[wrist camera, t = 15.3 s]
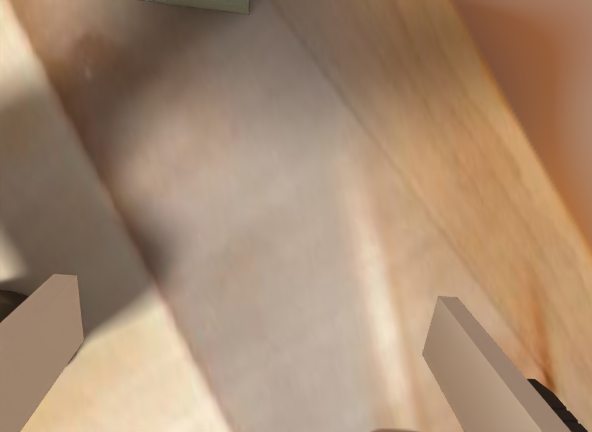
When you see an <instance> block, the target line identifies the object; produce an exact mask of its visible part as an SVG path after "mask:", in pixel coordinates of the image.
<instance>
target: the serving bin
mask: <svg viewBox="0 0 592 432" xmlns="http://www.w3.org/2000/svg"><path fill="white" fill-rule="evenodd" d="M142 1H149V2H157V3H165V4H173V5H180V6H188V7H196V8H204V9H211V10H219V11H227V12H235V13H242V14H249V4H250V0H142Z"/></svg>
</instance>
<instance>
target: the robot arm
mask: <svg viewBox="0 0 592 432" xmlns="http://www.w3.org/2000/svg"><path fill="white" fill-rule="evenodd" d="M83 341H84V336H83V327H82V318H81V308H80V299H79V290H78V280H77V275H63V274H53V275H52V276H51V277H50V278H49V279H48V280H47V281H45V282H44V283H43V284H42V285H41V286H40V287H39V288H38V289H37V290H36V291H35V292H34V293H32V294H31V295H30V296H29V297H27V296H24V295H21V294H18V293H14V292H9V291H0V432H20V431H21V430H22V428H23V427H24V426H25V424H26V423H27V421H28V420H29V418H30V417H31V416H32V414H33V413H34V411H35V410H36V408H37V407H38V405H39V404H40V403H41V401H42V400H43V398H44V397H45V395H46V394H47V393H48V391H49V390H50V388H51V387H52V385H53V384H54V383H55V381H56V380H57V378H58V377H59V375H60V374H61V373H62V371H63V370H64V368H65V367H66V365H67V364H68V363H69V361H70V360H71V358H72V357H73V355H74V354H75V353H76V351H77V350H78V348H79V347H80V345H81V344H82V343H83ZM422 355H423V357H424V359H425V361H426V362H427V364H428V366H429V368H430V370H431V371H432V373H433V375H434V377H435V379H436V381H437V382H438V384H439V386H440V388H441V390H442V392H443V393H444V395H445V397H446V399H447V401H448V402H449V404H450V406H451V408H452V410H453V412H454V413H455V415H456V417H457V419H458V421H459V423H460V424H461V426H462V428H463V430H464V432H588V431H587V430H586V429H585V428H584V427H583V426H582V425H581V424H579V423H578V420H577V419H576V418H575V417H574V416H573V415H572V413H571V412H570V411H567V409H566V407H565V406H564V405H563V403H562V402H561V401H560V400H559V399H558V398H557V397H556V396H555V394H554V393H553V392H551V391H550V390H549V389H547V388H546V387H545V386H543V385H542V384H541V383H539V382H538V381H537V380H535V379H526V378H525V377H524V375H523V374H522V373H521V372H520V371H519V370H518V368H517V367H516V366H515V365H514V364H513V362H512V361H511V360H510V359H509V358H508V357H507V355H506V354H505V353H504V352H503V351H502V349H501V348H500V347H499V346H498V345H497V344H496V342H495V341H494V340H493V339H492V338H491V337H490V335H489V334H488V333H487V332H486V331H485V329H484V328H483V327H482V326H481V325H480V324H479V322H478V321H477V320H476V319H475V318H474V316H473V315H472V314H471V313H470V312H469V311H468V309H467V308H466V307H465V306H464V305H463V303H462V302H461V301H460V300H459V299H458V298H457V297H445V296H438V298H437V302H436V306H435V309H434V313H433V317H432V320H431V324H430V328H429V331H428V335H427V339H426V342H425V346H424V349H423V353H422Z"/></svg>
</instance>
